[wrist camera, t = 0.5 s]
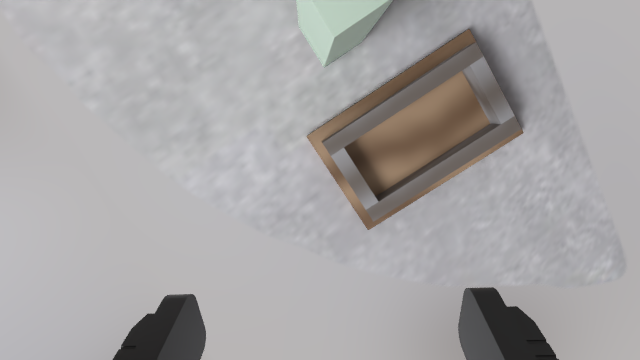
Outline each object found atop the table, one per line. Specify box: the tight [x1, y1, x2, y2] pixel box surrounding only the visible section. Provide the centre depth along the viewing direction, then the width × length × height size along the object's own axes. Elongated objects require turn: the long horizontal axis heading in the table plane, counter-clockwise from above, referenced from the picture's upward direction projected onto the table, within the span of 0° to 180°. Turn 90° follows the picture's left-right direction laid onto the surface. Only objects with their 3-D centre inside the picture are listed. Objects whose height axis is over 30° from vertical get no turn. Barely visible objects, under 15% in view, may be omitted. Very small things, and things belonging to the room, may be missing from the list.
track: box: [307, 29, 524, 230], centre depth 35 cm, size 12×19×3 cm, turn 123°
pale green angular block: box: [296, 0, 393, 67], centre depth 27 cm, size 4×4×14 cm
